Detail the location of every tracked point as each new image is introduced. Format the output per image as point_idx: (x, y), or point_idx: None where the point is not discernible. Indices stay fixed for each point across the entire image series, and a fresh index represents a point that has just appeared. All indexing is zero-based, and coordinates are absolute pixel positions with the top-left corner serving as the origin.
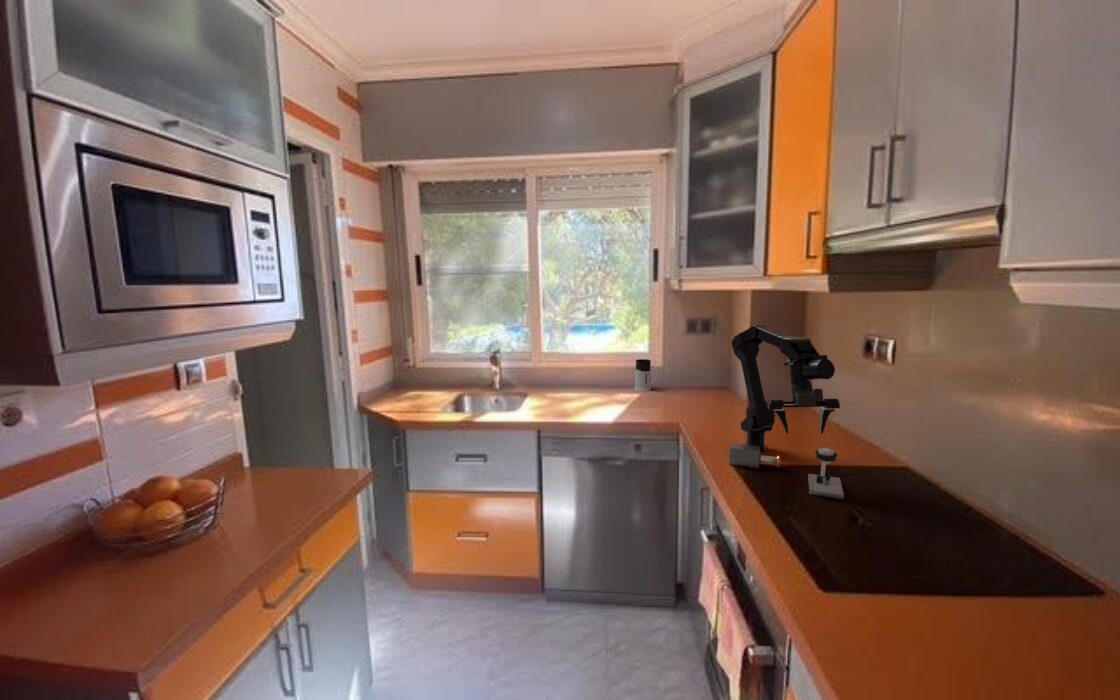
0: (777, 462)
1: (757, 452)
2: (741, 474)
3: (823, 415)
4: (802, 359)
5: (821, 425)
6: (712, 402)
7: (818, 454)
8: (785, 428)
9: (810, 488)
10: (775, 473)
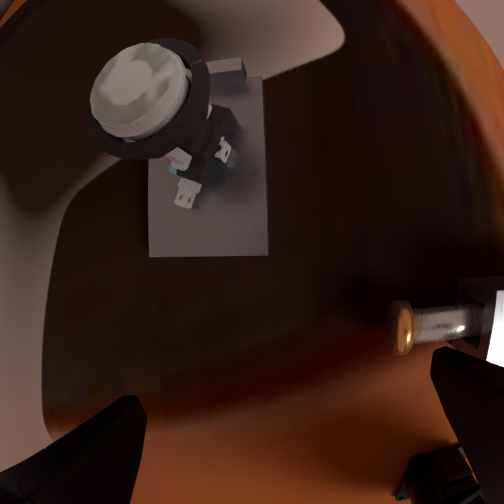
0: (405, 300)
1: (500, 290)
2: (496, 184)
3: (11, 499)
4: None
5: (95, 439)
6: None
7: (191, 46)
8: (482, 361)
9: (259, 87)
10: (399, 248)
